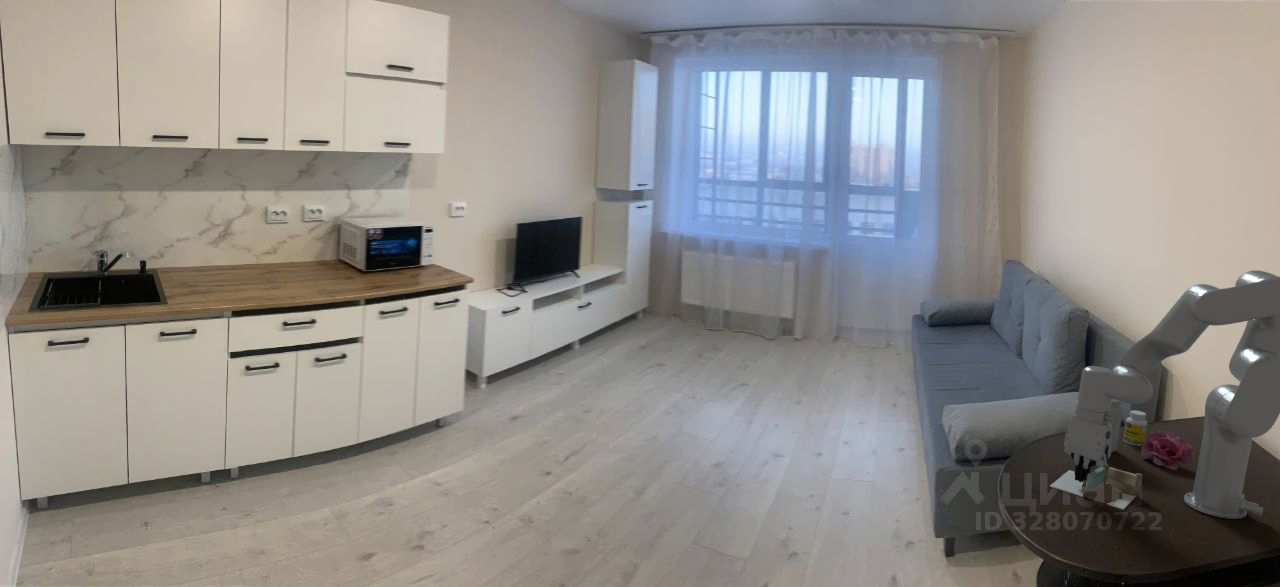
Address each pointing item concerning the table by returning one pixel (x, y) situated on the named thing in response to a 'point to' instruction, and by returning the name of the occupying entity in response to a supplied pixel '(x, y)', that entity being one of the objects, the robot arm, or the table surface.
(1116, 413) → the jar
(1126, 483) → the fence fixed
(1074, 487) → the card
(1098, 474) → the fence gate
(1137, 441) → the supplement bottle
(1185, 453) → the flower
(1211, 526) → the table surface
